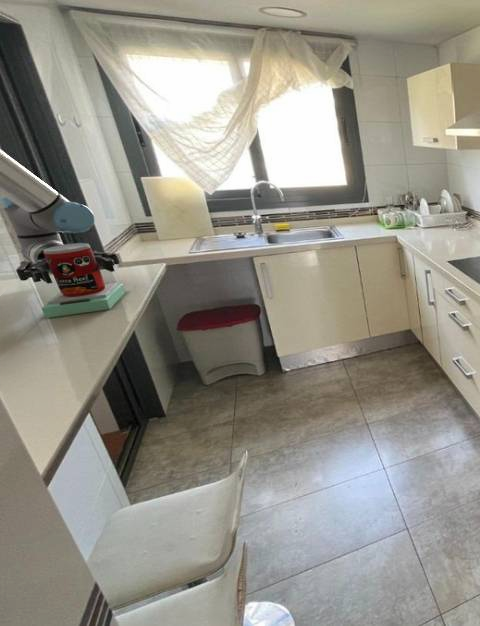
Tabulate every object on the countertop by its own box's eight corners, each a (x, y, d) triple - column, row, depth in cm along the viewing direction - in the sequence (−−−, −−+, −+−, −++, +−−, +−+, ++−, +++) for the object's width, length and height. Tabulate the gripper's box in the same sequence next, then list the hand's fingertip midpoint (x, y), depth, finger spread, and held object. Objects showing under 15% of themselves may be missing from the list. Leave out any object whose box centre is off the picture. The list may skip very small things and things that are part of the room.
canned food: (55, 299, 105) (34, 252, 101) (72, 288, 112) (53, 244, 108) (98, 294, 108) (79, 249, 104) (112, 284, 115) (95, 241, 111)
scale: (45, 318, 103) (40, 305, 102) (68, 299, 114) (63, 288, 113) (109, 309, 108) (105, 297, 107) (125, 292, 119) (121, 281, 118)
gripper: (117, 261, 127) (146, 274, 116) (-4, 283, 110) (16, 301, 99) (107, 235, 125) (136, 245, 113) (-19, 252, 107) (0, 267, 96)
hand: (80, 271), depth 106 cm, fingers open, 10 cm apart
